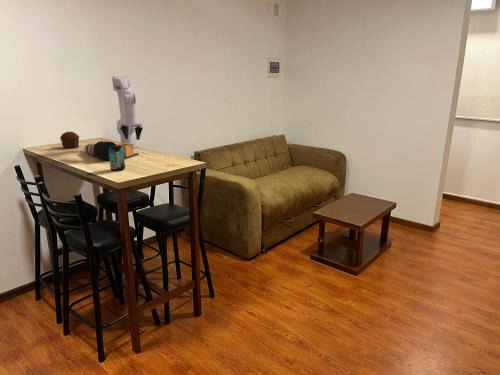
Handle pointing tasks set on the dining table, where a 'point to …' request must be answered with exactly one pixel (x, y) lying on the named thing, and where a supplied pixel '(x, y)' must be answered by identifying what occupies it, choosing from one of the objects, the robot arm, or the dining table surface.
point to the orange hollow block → (127, 149)
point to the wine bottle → (99, 149)
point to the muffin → (70, 140)
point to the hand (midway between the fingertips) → (132, 139)
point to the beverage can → (116, 158)
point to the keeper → (131, 156)
